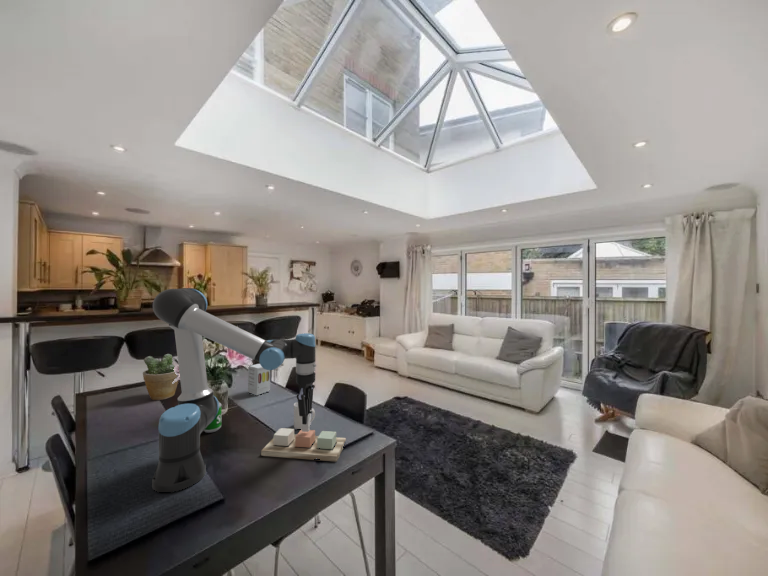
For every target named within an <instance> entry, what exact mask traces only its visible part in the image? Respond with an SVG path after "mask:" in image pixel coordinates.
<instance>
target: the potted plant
mask: <svg viewBox="0 0 768 576" xmlns="http://www.w3.org/2000/svg"><path fill="white" fill-rule="evenodd" d="M173 361H174V360H173V355H172V354H170V353H167V354H164V355H163V357H162V359H161V360H159V359H158V358H155V357H153V356H151V355H149V356H146V357H145V358H144V359H143V362H144V363H145V365H146V367H147V369H146V370H144V371H142V376H143V377H142V378H143V381H144V382H145V387H146V390H147V393H148V396H149V398H150V399H151V400H153V401H159V400H160V401H162V400H166V399H170V398H172V397H174V396H175V394H176V391H177V387H178V384H179V381H177V382H175V383H174V384H172V382H173V381H174V379H175V378H176V377H177V375H176V374H175V372H174V370H173V369H174V367H175V366H176V365H174V364H173Z"/></svg>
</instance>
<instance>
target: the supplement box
mask: <svg viewBox="0 0 768 576" xmlns="http://www.w3.org/2000/svg"><path fill="white" fill-rule="evenodd" d="M249 366H250V367H247V368H248V371H247V374H248V375H247V393H248V392H250V393H253V394H256V395H258V394H261V393H263V392H266V391H269V390H270V391H271V370H266V369H264V368H263V367H262V366H261V365H260V363H256V364H251V365H249Z"/></svg>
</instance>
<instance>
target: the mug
mask: <svg viewBox="0 0 768 576" xmlns="http://www.w3.org/2000/svg"><path fill="white" fill-rule="evenodd" d="M310 411H312V414H310V413H309V414H310V425H311V426H312V422H313V421H314V419H315V417H316V411H315V408H313V407H312V410H310ZM295 428H296V429H295ZM293 429H295V430H297V429H302V416H299V407H298V401H296V402H294V403H293Z"/></svg>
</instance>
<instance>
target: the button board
mask: <svg viewBox="0 0 768 576" xmlns="http://www.w3.org/2000/svg"><path fill="white" fill-rule="evenodd" d="M296 435H297V434H295V433H294V439H293V441H292V442H291V443H290V444H289V445H288V446H280V445H274V437H273V438H272V439H270V441H269V442H268V443H267V444H266V445H265V446H264V447H263V448H262V449H261V451H260V452H261V453H260V455H261V456H263V457H272V458H273V457H275V458H284V459H285V458H287V459H300V460H311V461H315V460H314V459H316V458H317V459H320V460H319V461H324V462H325V461H326V462H338V461H339V458H340V456H341V455H342V452H343V449H344V448H343V446H344V443H345V441H346V442H347V438H346V437H337V436H336V443H335V444H336V445H335V447H333V449H319V448H317V438H318V436H319V435H315V441H314V442H313V443H314V444H313V445H311V447H310V448H306V447H295V436H296ZM344 447H345V446H344Z"/></svg>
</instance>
